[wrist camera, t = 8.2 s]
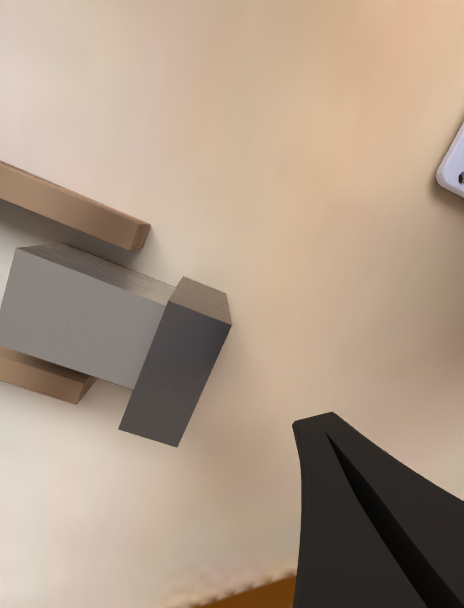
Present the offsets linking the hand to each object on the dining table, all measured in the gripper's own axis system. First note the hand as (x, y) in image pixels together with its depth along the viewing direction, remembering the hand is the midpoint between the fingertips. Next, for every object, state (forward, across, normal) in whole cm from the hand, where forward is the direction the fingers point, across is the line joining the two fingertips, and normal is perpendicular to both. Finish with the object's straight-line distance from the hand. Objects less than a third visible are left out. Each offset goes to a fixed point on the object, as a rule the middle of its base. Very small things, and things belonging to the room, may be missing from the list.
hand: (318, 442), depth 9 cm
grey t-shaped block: (+5, +6, -5) cm, 9 cm away
